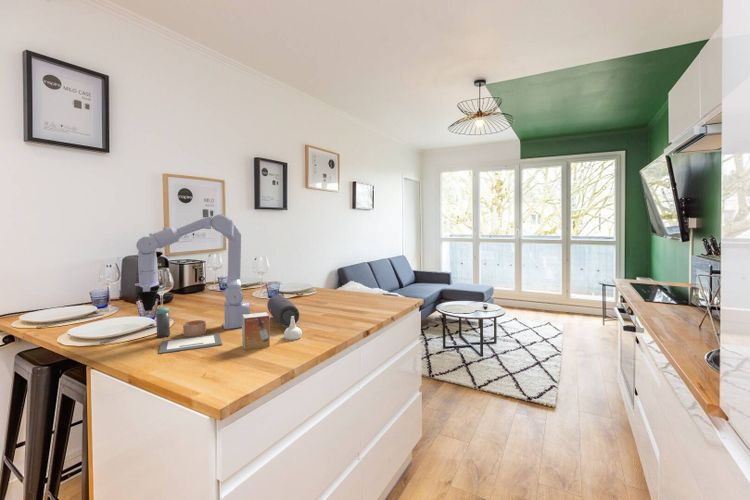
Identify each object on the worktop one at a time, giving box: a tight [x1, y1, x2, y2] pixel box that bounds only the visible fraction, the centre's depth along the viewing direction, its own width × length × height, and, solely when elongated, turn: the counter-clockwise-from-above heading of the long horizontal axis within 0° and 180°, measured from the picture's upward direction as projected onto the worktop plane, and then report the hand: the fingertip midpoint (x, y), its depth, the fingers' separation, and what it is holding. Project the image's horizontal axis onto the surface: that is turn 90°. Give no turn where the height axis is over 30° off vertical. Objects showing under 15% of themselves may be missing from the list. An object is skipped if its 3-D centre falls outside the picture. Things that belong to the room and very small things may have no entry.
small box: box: [241, 311, 271, 351], centre depth 115 cm, size 8×6×10 cm
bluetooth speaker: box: [266, 294, 300, 328], centre depth 142 cm, size 23×9×10 cm, turn 27°
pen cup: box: [182, 319, 207, 337], centre depth 128 cm, size 7×7×4 cm
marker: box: [155, 306, 171, 339], centre depth 125 cm, size 4×4×10 cm
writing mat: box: [158, 332, 223, 355], centre depth 117 cm, size 18×13×1 cm
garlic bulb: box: [283, 316, 303, 341], centre depth 123 cm, size 6×6×8 cm
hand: (149, 308), depth 124 cm, fingers open, 7 cm apart
